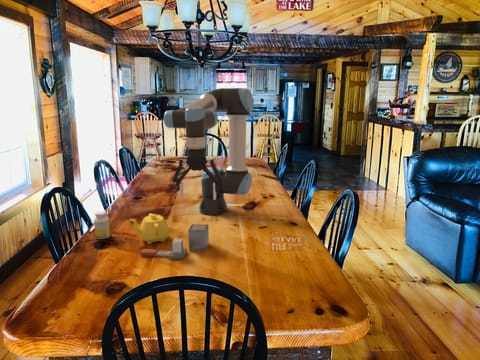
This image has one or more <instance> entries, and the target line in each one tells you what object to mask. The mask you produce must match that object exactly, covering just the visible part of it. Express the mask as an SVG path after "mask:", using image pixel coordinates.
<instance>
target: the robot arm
mask: <svg viewBox="0 0 480 360" xmlns="http://www.w3.org/2000/svg"><path fill="white" fill-rule="evenodd" d="M254 105H255V104H254V98H253V93H252V92H251V90H250V89H249V88H245V87H230V88H228V87H227V88H225V87H223V88H222V87H220V88H216V89H213V90H210V91H208V92H206V93H204V94H202V95H201V96H200V97H199V98H198V99H196V100H194V101H192V102H190V103H188V104H186V105H183V106H182V107H181V108H178V109H175V110H174V109H171V110H166V111H165V112H164V115H163V124H164V125H165V127H166V128H168V129H184V130H185V133H186V134H185V141H186V147H187V148H186V159H184V158H180V159H179V161H178V166H177V169H176V171H175V174H174V175H173V177H172V183H176V188H177V189H176V190H177V192H179V198H180V199H179V200H183V199H184V183H183V182H182V181H183V179H184V178H185V177H186V176H187V174H188V173H189V172H190V171H194V172H195V171H198V172H201V176H200V177H201V179H200V181H201V195H202V197H201V200H200V204H199V207H198V208H199V213H200V214H202V215H203V214H204V215H207V216H217V215H221V214H224V213H226V212H228V205H227V201H226V199H225V196H224V195H225V194H227V195H236V196H245V195H247V194H248V193H249V191H250V189H251V187H252V184H253V183H252V181H253V176H252V173H251V172H249V168H248V167H247V166H246V160H247V159H246V153H247V151H246V149H247V145H246V144H247V120H248V118H249V117H250V113H252V112H253V111H254ZM216 112H223V113H224V112H225V113H226V117H227V118H228V119H229V121H228V123H229V125H228V126H229V128H228V134H229V135H228V136H229V137H228V166H227V167H226V168H225V169H224V168H223V167H217V166H216V162H215V159H214V158H211V159H207V149H206V146H207V143H206V131H207V130H211V129H213V128H215V126H216V125H217V124H218V123H219V122H218V121H219V117H218V114H217V113H216ZM185 164H186V165H187V166H188V167H187V168H186V170H185V171H184V172H183V173H182V175H181V176H179V175H180V172H181V170H182V169H183V166H184V165H185ZM207 164H208V165H209V166H210V167H211V168H208V166H206V165H207ZM178 177H179V178H178Z"/></svg>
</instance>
